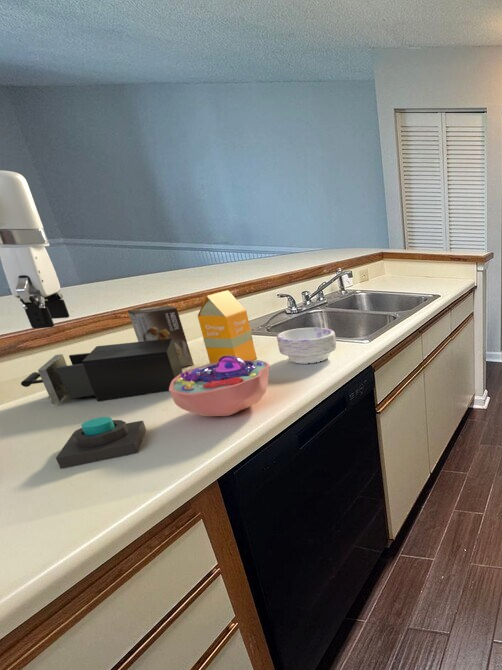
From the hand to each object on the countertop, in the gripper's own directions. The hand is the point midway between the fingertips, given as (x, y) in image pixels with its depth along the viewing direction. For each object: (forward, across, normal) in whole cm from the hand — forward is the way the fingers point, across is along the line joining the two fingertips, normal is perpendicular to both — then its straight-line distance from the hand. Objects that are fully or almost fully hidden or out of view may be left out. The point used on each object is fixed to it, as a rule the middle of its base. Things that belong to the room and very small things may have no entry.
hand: (52, 322), depth 91 cm
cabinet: (+17, -1, +11) cm, 21 cm away
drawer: (+16, -1, +2) cm, 16 cm away
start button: (+14, +32, +11) cm, 37 cm away
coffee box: (+17, -15, +15) cm, 27 cm away
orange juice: (+17, -10, +30) cm, 36 cm away
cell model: (+17, +24, +30) cm, 42 cm away
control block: (+17, +32, +11) cm, 38 cm away
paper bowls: (+17, -4, +49) cm, 52 cm away
